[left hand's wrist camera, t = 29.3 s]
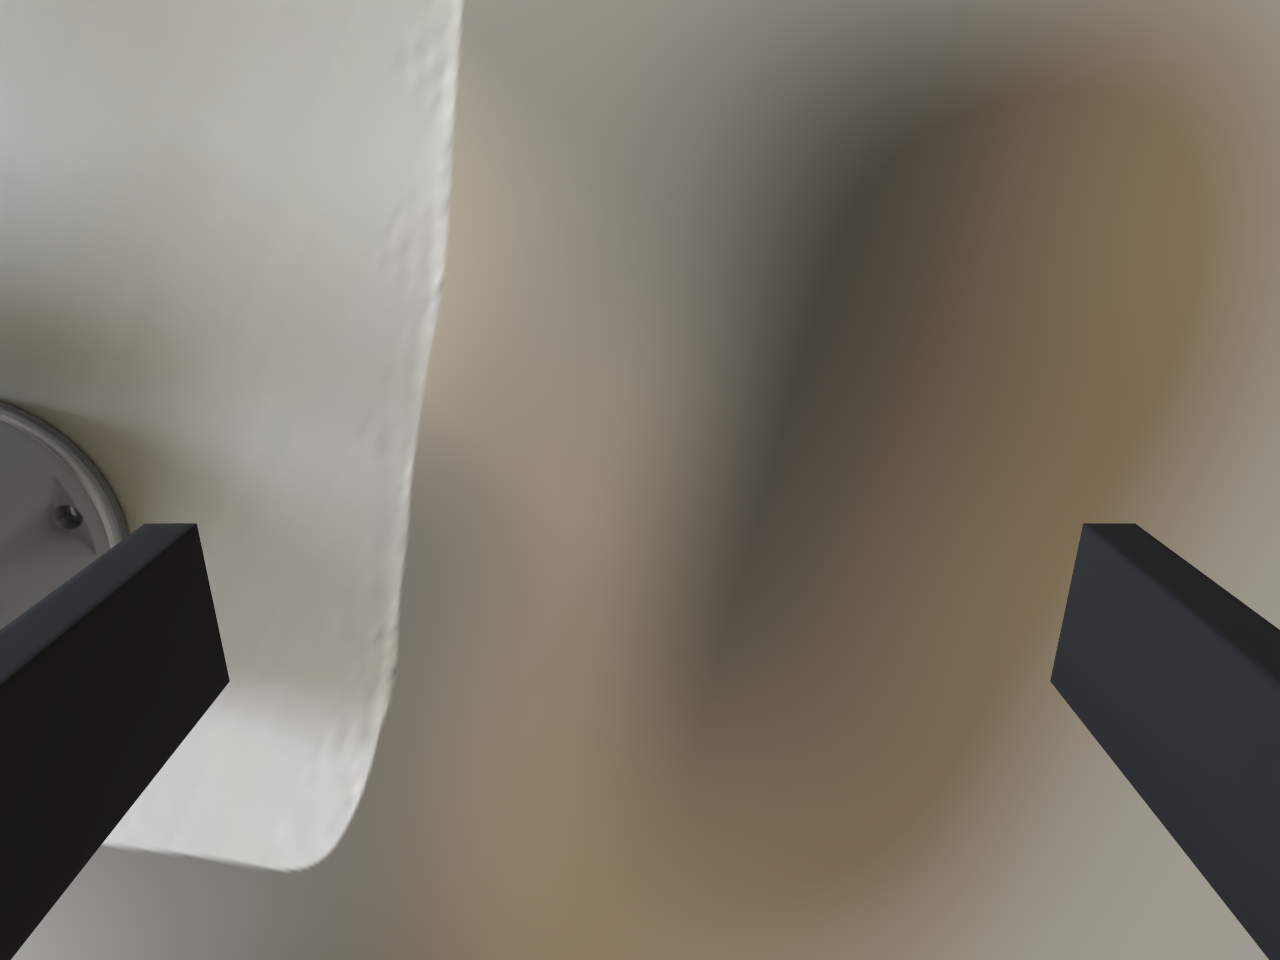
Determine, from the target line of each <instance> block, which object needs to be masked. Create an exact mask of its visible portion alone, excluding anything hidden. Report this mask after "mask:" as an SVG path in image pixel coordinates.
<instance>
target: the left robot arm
mask: <svg viewBox="0 0 1280 960" xmlns="http://www.w3.org/2000/svg"><path fill="white" fill-rule="evenodd" d="M228 683H229V676H228V671H227V666H226V661H225V657H224V652H223V647H222V642H221V638H220V633H219V628H218V623H217V618H216V614H215V609H214V604H213V599H212V595H211V590H210V585H209V580H208V575H207V571H206V566H205V561H204V556H203V551H202V547H201V542H200V537H199V532H198V528H197V524H144V525H142V526H141V527H140V528H138V529H137V530H136V531H134V532H133V533H131V534H130V535H129V536H128V533H127V528H126V524H125V520H124V517H123V515H122V512H121V509H120V506H119V504H118V502H117V500H116V498H115V496H114V494H113V492H112V490H111V489H110V487H109V485H108V483H107V482H106V480H105V479H104V478H103V476H102V475H101V473H100V472H99V470H98V469H97V468H96V467H95V466H94V464H93V463H92V462H91V461H90V460H89V459H88V458H87V456H86V455H85V454H84V453H83V452H82V451H81V450H80V449H79V448H78V447H77V446H75V445H74V444H73V443H72V442H71V441H70V440H69V439H67V438H66V437H65V436H64V435H62V434H61V433H60V432H58V431H57V430H56V429H54V428H53V427H51V426H50V425H48V424H46V423H45V422H43V421H42V420H40V419H38V418H36V417H35V416H33V415H31V414H29V413H27V412H25V411H23V410H20V409H18V408H16V407H14V406H11V405H8V404H5V403H3V402H0V960H11V959H12V957H13V956H14V955H15V954H16V952H17V951H18V950H19V948H20V947H21V946H22V945H23V943H24V942H25V941H26V940H27V938H28V937H29V936H30V934H31V933H32V932H33V931H34V929H35V928H36V927H37V926H38V924H39V923H40V922H41V920H42V919H43V918H44V917H45V915H46V914H47V913H48V912H49V910H50V909H51V908H52V907H53V905H54V904H55V903H56V901H57V900H58V899H59V898H60V896H61V895H62V894H63V893H64V891H65V890H66V889H67V887H68V886H69V885H70V884H71V882H72V881H73V880H74V879H75V877H76V876H77V875H78V873H79V872H80V871H81V870H82V868H83V867H84V866H85V865H86V863H87V862H88V861H89V859H90V858H91V857H92V856H93V854H94V853H95V852H96V851H97V849H98V848H99V847H100V845H101V844H102V843H103V842H104V840H105V839H106V838H107V837H108V835H109V834H110V833H111V831H112V830H113V829H114V828H115V826H116V825H117V824H118V823H119V821H120V820H121V819H122V818H123V816H124V815H125V814H126V812H127V811H128V810H129V809H130V807H131V806H132V805H133V804H134V802H135V801H136V800H137V798H138V797H139V796H140V795H141V793H142V792H143V791H144V790H145V788H146V787H147V786H148V784H149V783H150V782H151V781H152V779H153V778H154V777H155V776H156V774H157V773H158V772H159V770H160V769H161V768H162V767H163V765H164V764H165V763H166V762H167V760H168V759H169V758H170V756H171V755H172V754H173V753H174V751H175V750H176V749H177V748H178V746H179V745H180V744H181V742H182V741H183V740H184V739H185V737H186V736H187V735H188V734H189V732H190V731H191V730H192V728H193V727H194V726H195V725H196V723H197V722H198V721H199V720H200V718H201V717H202V716H203V714H204V713H205V712H206V711H207V709H208V708H209V707H210V706H211V704H212V703H213V702H214V700H215V699H216V698H217V697H218V695H219V694H220V693H221V692H222V690H223V689H224V688H225V686H226V685H227V684H228ZM1051 683H1052V684H1053V685H1054V686H1055V688H1056V689H1057V690H1058V691H1059V693H1060V694H1061V695H1062V697H1063V698H1064V699H1065V700H1066V702H1067V703H1068V704H1069V706H1070V707H1071V708H1072V709H1073V711H1074V712H1075V713H1076V714H1077V716H1078V717H1079V718H1080V719H1081V721H1082V722H1083V723H1084V725H1085V726H1086V727H1087V728H1088V730H1089V731H1090V732H1091V734H1092V735H1093V736H1094V737H1095V739H1096V740H1097V741H1098V742H1099V744H1100V745H1101V746H1102V747H1103V749H1104V750H1105V751H1106V753H1107V754H1108V755H1109V756H1110V758H1111V759H1112V760H1113V762H1114V763H1115V764H1116V765H1117V767H1118V768H1119V769H1120V770H1121V772H1122V773H1123V774H1124V776H1125V777H1126V778H1127V779H1128V781H1129V782H1130V783H1131V784H1132V786H1133V787H1134V788H1135V790H1136V791H1137V792H1138V793H1139V795H1140V796H1141V797H1142V798H1143V800H1144V801H1145V802H1146V803H1147V805H1148V806H1149V807H1150V809H1151V810H1152V811H1153V812H1154V814H1155V815H1156V816H1157V818H1158V819H1159V820H1160V821H1161V822H1162V824H1163V825H1164V826H1165V828H1166V829H1167V830H1168V831H1169V833H1170V834H1171V835H1172V837H1173V838H1174V839H1175V840H1176V842H1177V843H1178V844H1179V845H1180V847H1181V848H1182V849H1183V851H1184V852H1185V853H1186V854H1187V856H1188V857H1189V858H1190V859H1191V861H1192V862H1193V863H1194V865H1195V866H1196V867H1197V868H1198V870H1199V871H1200V872H1201V873H1202V875H1203V876H1204V877H1205V879H1206V880H1207V881H1208V882H1209V884H1210V885H1211V886H1212V887H1213V889H1214V890H1215V891H1216V892H1217V894H1218V895H1219V896H1220V898H1221V899H1222V900H1223V901H1224V903H1225V904H1226V905H1227V907H1228V908H1229V909H1230V910H1231V912H1232V913H1233V914H1234V915H1235V917H1236V918H1237V919H1238V921H1239V922H1240V923H1241V924H1242V926H1243V927H1244V928H1245V929H1246V931H1247V932H1248V933H1249V935H1250V936H1251V937H1252V938H1253V940H1254V941H1255V942H1256V943H1257V945H1258V946H1259V947H1260V949H1261V950H1262V951H1263V952H1264V954H1265V955H1266V956H1267V957H1268V959H1269V960H1280V630H1279V629H1278V628H1276V627H1275V626H1274V625H1272V624H1271V623H1269V622H1268V621H1267V620H1265V619H1264V618H1263V617H1261V616H1260V615H1259V614H1257V613H1256V612H1254V611H1253V610H1252V609H1250V608H1249V607H1248V606H1246V605H1245V604H1244V603H1242V602H1241V601H1240V600H1238V599H1237V598H1236V597H1234V596H1233V595H1231V594H1230V593H1229V592H1227V591H1226V590H1225V589H1223V588H1222V587H1221V586H1219V585H1218V584H1216V583H1215V582H1214V581H1212V580H1211V579H1210V578H1208V577H1207V576H1206V575H1204V574H1203V573H1202V572H1200V571H1199V570H1197V569H1196V568H1195V567H1193V566H1192V565H1191V564H1189V563H1188V562H1187V561H1185V560H1184V559H1183V558H1181V557H1180V556H1178V555H1177V554H1176V553H1174V552H1173V551H1172V550H1170V549H1169V548H1168V547H1166V546H1165V545H1164V544H1162V543H1161V542H1159V541H1158V540H1157V539H1155V538H1154V537H1153V536H1151V535H1150V534H1149V533H1147V532H1146V531H1144V530H1143V529H1142V528H1140V527H1139V526H1138V525H1136V524H1083V528H1082V533H1081V537H1080V542H1079V547H1078V552H1077V556H1076V561H1075V566H1074V571H1073V575H1072V580H1071V585H1070V590H1069V595H1068V599H1067V604H1066V609H1065V614H1064V619H1063V623H1062V628H1061V633H1060V638H1059V642H1058V647H1057V652H1056V657H1055V661H1054V666H1053V671H1052V676H1051Z"/></svg>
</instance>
